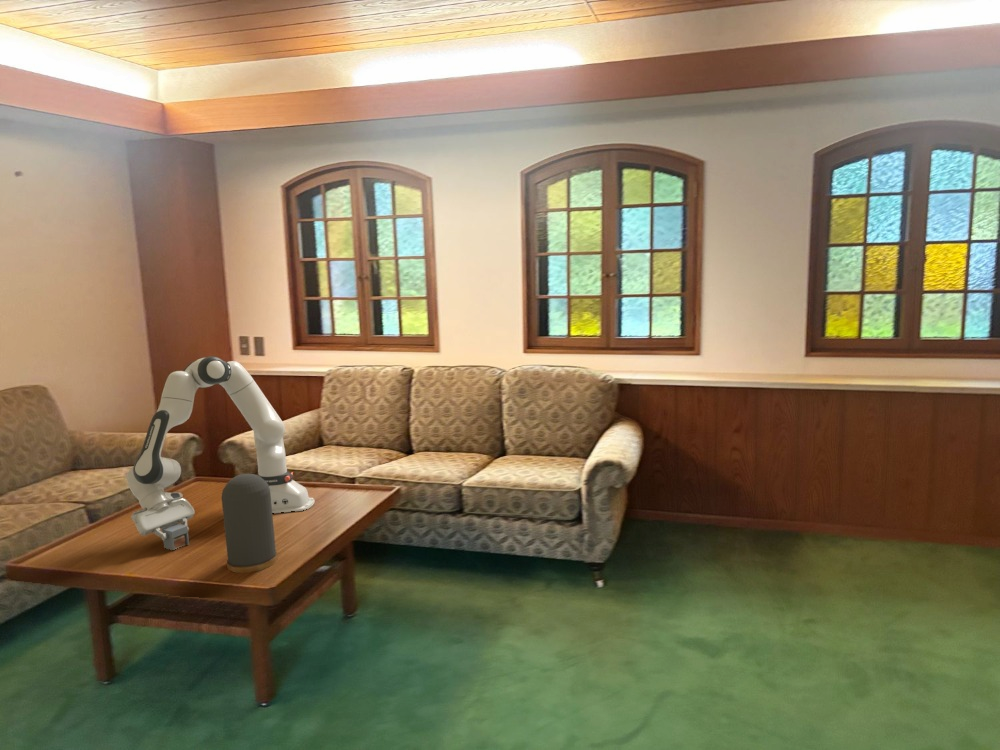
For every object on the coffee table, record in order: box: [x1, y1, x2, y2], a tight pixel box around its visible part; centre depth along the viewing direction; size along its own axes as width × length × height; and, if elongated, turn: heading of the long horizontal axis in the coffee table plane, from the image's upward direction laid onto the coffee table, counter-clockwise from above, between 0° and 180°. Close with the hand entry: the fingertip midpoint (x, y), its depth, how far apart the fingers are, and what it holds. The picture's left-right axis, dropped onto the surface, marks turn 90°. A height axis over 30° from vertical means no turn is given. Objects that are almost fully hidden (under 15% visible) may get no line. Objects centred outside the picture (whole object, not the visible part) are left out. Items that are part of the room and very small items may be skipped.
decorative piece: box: [221, 473, 279, 574], centre depth 228 cm, size 16×16×30 cm
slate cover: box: [161, 523, 190, 551], centre depth 246 cm, size 6×6×7 cm
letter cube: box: [174, 535, 186, 550], centre depth 246 cm, size 4×4×4 cm
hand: (176, 534), depth 245 cm, fingers open, 7 cm apart
